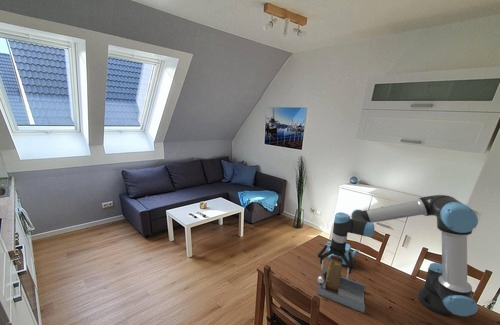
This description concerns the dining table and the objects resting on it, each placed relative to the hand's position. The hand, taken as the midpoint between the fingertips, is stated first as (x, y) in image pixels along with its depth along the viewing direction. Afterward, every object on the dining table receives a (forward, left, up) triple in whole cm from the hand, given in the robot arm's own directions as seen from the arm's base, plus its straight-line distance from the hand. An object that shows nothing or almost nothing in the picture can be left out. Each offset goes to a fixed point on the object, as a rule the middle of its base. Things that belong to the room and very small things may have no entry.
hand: (334, 273), depth 122 cm
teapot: (-2, -32, -11) cm, 34 cm away
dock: (-4, 0, -11) cm, 12 cm away
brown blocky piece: (0, 0, -10) cm, 10 cm away
